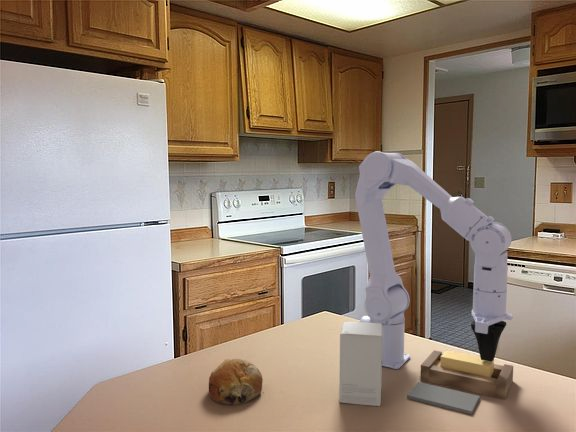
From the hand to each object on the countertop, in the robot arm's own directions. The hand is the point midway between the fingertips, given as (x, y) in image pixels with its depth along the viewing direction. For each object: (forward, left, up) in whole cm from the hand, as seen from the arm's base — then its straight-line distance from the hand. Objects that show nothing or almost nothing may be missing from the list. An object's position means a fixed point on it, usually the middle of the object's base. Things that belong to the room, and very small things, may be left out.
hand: (487, 359), depth 92 cm
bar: (-4, 0, -3) cm, 5 cm away
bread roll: (-38, -28, -5) cm, 48 cm away
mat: (-5, -10, -5) cm, 12 cm away
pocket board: (-3, 0, -5) cm, 6 cm away
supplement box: (-18, -16, -5) cm, 25 cm away
